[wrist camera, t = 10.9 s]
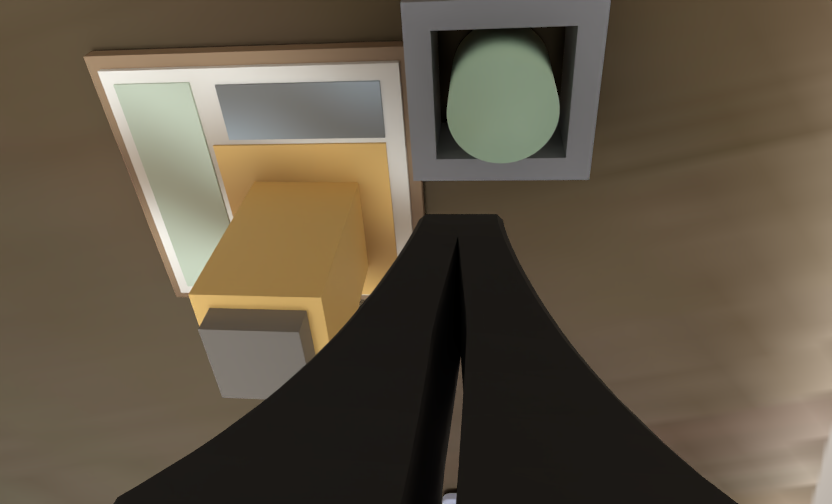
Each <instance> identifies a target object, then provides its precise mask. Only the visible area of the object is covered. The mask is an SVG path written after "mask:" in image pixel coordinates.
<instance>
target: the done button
mask: <svg viewBox="0 0 832 504" xmlns="http://www.w3.org/2000/svg"><path fill="white" fill-rule="evenodd" d="M559 114H560V104H559V98H558V93H557V89H556V85H555V80H554V76H553V72H552V67H551V63H550V59H549V55H548V51H547V49H546V46H545V44H544V43H543V41H542V39H541V38H540V37H539V36H538V35H537V34H536V33H535V32H534V31H533V30H532V29H530V28H529V27H527V28H498V29H474V30H473V31H471V32H470V33H469V34H468V35H467V36H466V37H465V38H464V39H463V40H462V41H461V43H460V45H459V46H458V48H457V50H456V52H455V55H454V58H453V63H452V71H451V79H450V87H449V95H448V103H447V122H448V126H449V129H450V132H451V134H452V136H453V138H454V140H455V141H456V142H457V144H458V145H459V146H460V147H461V148H462V149H463V150H464V151H466V152H467V153H468V154H470V155H471V156H473V157H475V158H477V159H480V160H483V161H486V162H491V163H511V162H516V161H519V160H522V159H525V158H527V157H529V156H531V155H533V154H534V153H536V152H537V151H538V150H540V149H541V148H542V147H543V146H544V145H545V144H546V143H547V142H548V140H549V139H550V138H551V136H552V135H553V133H554V131H555V129H556V126H557V123H558V120H559Z"/></svg>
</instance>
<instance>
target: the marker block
mask: <svg viewBox="0 0 832 504" xmlns="http://www.w3.org/2000/svg"><path fill="white" fill-rule="evenodd" d="M367 271H368V259H367V250H366V242H365V234H364V225H363V217H362V209H361V200H360V192H359V184H358V182H254V183H253V185H252V187H251V188H250V190H249V192H248V193H247V195H246V197H245V199H244V200H243V202H242V204H241V205H240V207H239V209H238V210H237V212H236V214H235V216H234V217H233V219H232V221H231V222H230V224H229V226H228V228H227V229H226V231H225V233H224V234H223V236H222V238H221V239H220V241H219V243H218V245H217V246H216V248H215V250H214V251H213V253H212V255H211V257H210V258H209V260H208V262H207V263H206V265H205V267H204V268H203V270H202V272H201V274H200V275H199V277H198V279H197V280H196V282H195V284H194V286H193V287H192V289H191V291H190V292H189V294H188V295H189V298H190V301H191V304H192V307H193V309H194V312H195V315H196V318H197V321H198V323H199V328H198V331H199V334H200V336H201V339H202V342H203V345H204V348H205V350H206V353H207V356H208V359H209V362H210V364H211V367H212V370H213V373H214V375H215V378H216V381H217V384H218V387H219V389H220V392H221V395H222V397H223V398H247V399H267V398H268V397H269V396H270V395H272V394H273V393H274V392H275V391H276V390H278V389H279V388H280V387H281V386H282V385H283V384H285V383H286V382H287V381H288V380H289V379H290V378H291V377H292V376H293V375H295V374H296V373H297V372H298V371H299V370H300V369H301V368H302V367H304V366H305V365H306V364H307V363H308V362H309V361H310V360H311V359H312V358H313V357H314V356H315V355H316V354H317V353H318V352H319V351H320V350H321V349H322V348H323V347H324V346H325V345H326V344H327V343H328V342H329V341H330V340H331V339H332V338H333V337H334V336H335V335H336V334H337V333H338V332H339V331H340V329H341V328H342V327H343V326H344V325H345V324H346V323H347V322H348V321H349V319H350V318H351V317H352V316H353V315H354V313H355V312H356V311H357V310H358V307H359V303H360V299H361V295H362V291H363V287H364V283H365V279H366V275H367Z"/></svg>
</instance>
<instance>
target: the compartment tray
mask: <svg viewBox="0 0 832 504" xmlns="http://www.w3.org/2000/svg"><path fill="white" fill-rule="evenodd" d="M84 59H85V62H86V65H87V67H88V70H89V72H90V75H91V78H92V80H93V83H94V85H95V88H96V90H97V93H98V96H99V98H100V101H101V103H102V106H103V108H104V111H105V114H106V116H107V119H108V121H109V124H110V126H111V129H112V132H113V134H114V137H115V139H116V142H117V145H118V147H119V150H120V152H121V155H122V157H123V160H124V163H125V165H126V168H127V170H128V173H129V175H130V178H131V181H132V183H133V186H134V188H135V191H136V194H137V196H138V199H139V201H140V204H141V206H142V209H143V212H144V214H145V217H146V219H147V222H148V224H149V227H150V230H151V232H152V235H153V237H154V240H155V242H156V245H157V248H158V250H159V253H160V255H161V258H162V261H163V263H164V266H165V268H166V271H167V273H168V276H169V279H170V281H171V284H172V286H173V289H174V291H175V294H176V297H189V295H188V294H189V292H190V291H191V289H192V287H193V286H194V284H195V282H196V280H197V279H198V277H199V275H200V274H201V272H202V270H203V268H204V267H205V265H206V263H207V262H208V260H209V258H210V257H211V255H212V253H213V251H214V250H215V248H216V246H217V245H218V243H219V241H220V239H221V238H222V236H223V234H224V233H225V231H226V229H227V228H228V226H229V224H230V222H231V221H232V219H233V217H234V216H235V214H236V212H237V210H238V209H239V207H240V205H241V204H242V202H243V200H244V199H245V197H246V195H247V193H248V192H249V190H250V188H251V187H252V185H253V183H254V182H358V184H359V192H360V200H361V209H362V217H363V225H364V234H365V242H366V250H367V259H368V271H367V275H366V279H365V283H364V287H363V291H362V295H361V299H360V300H366V299H367V298H368V296H369V295H370V294H371V293H372V291H373V290H374V289H375V288H376V286H377V285H378V284H379V282H380V281H381V279H382V278H383V277H384V275H385V274H386V272H387V271H388V270H389V268H390V267H391V265H392V264H393V263H394V261H395V260H396V258H397V257H398V255H399V254H400V252H401V250H402V249H403V247H404V246H405V244H406V242H407V241H408V239H409V238H410V236H411V234H412V232H413V230H414V229H415V227H416V225H417V223H418V221H419V219H421V218H422V217H423V216H424V215H425V206H424V190H423V181H413V168H412V154H411V141H410V127H409V114H408V100H407V87H406V73H405V60H404V46H403V41H381V42H350V43H320V44H289V45H259V46H228V47H197V48H167V49H136V50H106V51H91V52H90V53H88V54H87V55H85V56H84Z"/></svg>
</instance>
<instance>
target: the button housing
mask: <svg viewBox="0 0 832 504" xmlns="http://www.w3.org/2000/svg"><path fill="white" fill-rule="evenodd" d="M610 4H611V0H401V2H400V6H401V19H402V33H403V46H404V60H405V73H406V87H407V100H408V114H409V127H410V141H411V154H412V168H413V181H488V180H589V177H590V169H591V160H592V152H593V144H594V136H595V128H596V119H597V111H598V103H599V95H600V86H601V78H602V70H603V62H604V53H605V45H606V37H607V29H608V21H609V12H610ZM556 26H566V29H565V41H564V53H563V65H562V78H561V90H560V102H559V104H560V114H559V120H558V123H557V126H556V129H555V131H554V133H553V135H552V136H551V138H550V139H549V140H548V142H547V143H546V144H545V145H544V146H543V147H542V148H541V149H540V150H538V151H537V152H536V153H534V154H533V155H531V156H529V157H527V158H525V159H522V160H519V161H516V162H511V163H491V162H486V161H483V160H480V159H477V158H475V157H473V156H471V155H470V154H468V153H467V152H466V151H464V150H463V149H462V148H461V147H460V146H459V145H458V144H457V142H456V141H455V140H454V138H453V136H452V134H451V132H450V129H449V126H448V123H441V102H440V77H439V52H438V31H439V30H469V29H498V28H527V27H556Z"/></svg>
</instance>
